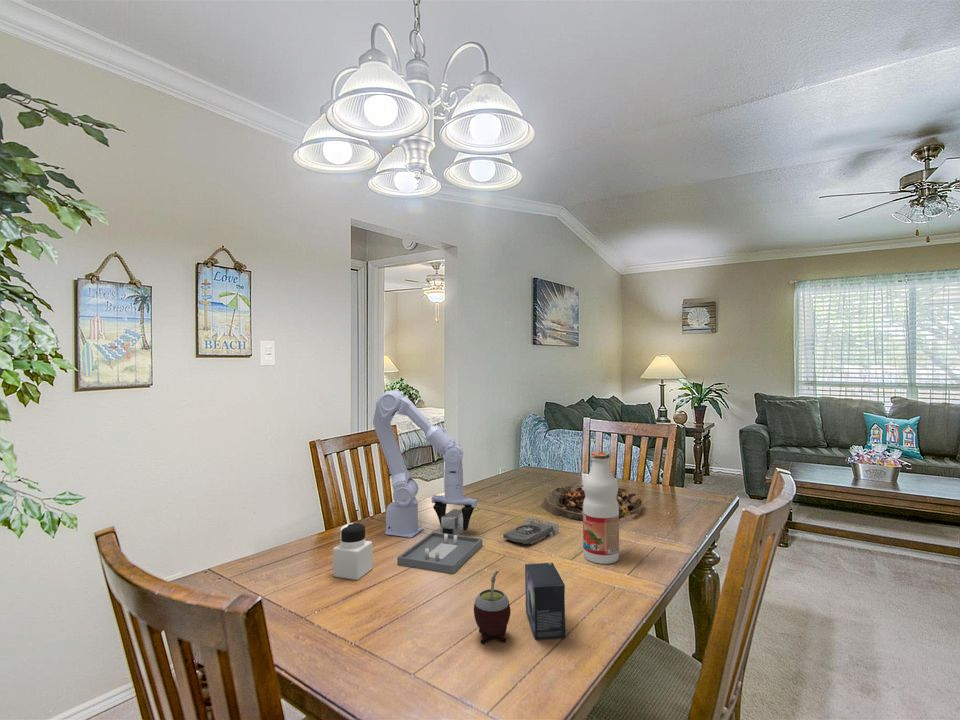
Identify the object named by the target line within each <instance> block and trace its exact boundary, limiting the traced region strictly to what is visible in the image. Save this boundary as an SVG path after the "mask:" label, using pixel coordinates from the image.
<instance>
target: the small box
mask: <svg viewBox="0 0 960 720" xmlns="http://www.w3.org/2000/svg"><path fill="white" fill-rule="evenodd" d="M524 576H525V577H524V580H525V581H524V583H525V614H526V616H527V619H528V622H529V625H530V629H531V632H532V635H533V636H534V637H533V638H534V640H536V641H539V640H554V639H555V640H556V639H566V637H567V633H566V632H567V631H566V608H565V607H566V603H565V602H566V601H565V600H566V599H565V597H566V596H565V590H566V586H565V583H564V581H563V579H562V577H561V576H560V574H559V572H558V570H557V567H556V566H555V565H554V563H553V562H542V563H540V562H538V563H525V564H524Z"/></svg>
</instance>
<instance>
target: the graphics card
mask: <svg viewBox="0 0 960 720" xmlns="http://www.w3.org/2000/svg"><path fill="white" fill-rule="evenodd" d="M524 518H525V521H526V522H525V523H524V524H522V525H519V526H517V527H515V528H513V529H511V530H508V531H507V532H504V533H503V535H502V536H503V540H504V539H506V540H509V541H511V542H515V543H520V544H523V545H530V546H531V545H533V544H535V543H536V542H538V541H540V540H543V539H547V538H548V539H551V538H553V537H555V536H557V535H558V534H559V522H557V523H556V522H554V521H549V520H546V519H545V520H544V519H541V518H540V519H539V518H535V517H532V516H527V517H526V516H525V517H524ZM549 537H550V538H549ZM548 539H547V540H548Z"/></svg>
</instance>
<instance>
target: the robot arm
mask: <svg viewBox="0 0 960 720" xmlns="http://www.w3.org/2000/svg"><path fill="white" fill-rule="evenodd" d="M396 414H397V415H402V416H406V417H408V419H410V420H411V421H412V422H413V423H414V424H415V425H416V426H417V427H418V428H419V429H420V430H422V432H423V433H424V434H425V440H426V442H427V443H429V444H430V445H431V447H433V448H434V450H436V452H437V453H439V455H442V460H443V461H444V469H443V470H444V474H443V475H444V495H432V496H431V503H432V504H434V505H433V506H432V507H433V510H434V511H435V513H436V516H437V519H438V521H439V524H440V525H439V526H440V527H441V517H442V516H444V515H445V514H447V505H453V506H454V505H455V506H463V507H462V508H461V510H462V515H463V530H464V531H467V530H468V529H469V526H470V525H469V524H470V521H471V520H470V519H471V516H472V514H473V512H474V510H475V508H476V507H477V506H478V499H475V498H470V497H466V496H464V468H463V466H464V465H463V457H464V451H463V449H464V448H462V446H461V445H460V444H459V443H457V441H456V440H455V439H454V440H453V438H451V437H450V436H449V435H448V434H447V433H446V429H445V428H444V427H440V426H439V425H433V424H432V423H431V422H430V421H429V420H428V418H426V416H425V415H424V414H423V413H422V412H421V411H420V409H418V407H417V406H416V405H415V404H414V402H412V401H411V400H410V399H409V397H407V396H406V395H404V394H403V393H402V392H401V391H400V390H397V389H393V390H389V391H386V392H384V393H382V394H381V395H380V396H379V398H378V399H377V401H376V402H375V409H374V415H373V419H372V425H373V427H374V430H375V434H376V436H377V438H378V441H379V445H380V447H381V450H382V453H383V455H384V459H385V462H386V464H387V467H388V469H389V470H388V471H389V473H390V476H391V486H392V489H393V493H392V499H393V502H390V503H388V505H387V506H386V511H385V532H384V535H388V536H395V537H396V536H397V537H404V538H409V539H410V538H413V537H414V536H416V535H418V534H419V533H421V532H422V531H423V530H424V527H419V506H418V505H419V504H418V503H419V501H418V499H417V498H416V496H417V494H418V492H419V484H418V483H417V482H416V481H415V480H414V479H413V477H412V475H411V473H410V471H409V470H408V468H407V466H406V463H405V460H404V457H403V455H402V451H401V449H400V446H399V444H398V441H397V437H396V435H395V432H394V429H393V426H392V424H391V423H392V420H393V418H394V417H395V415H396Z"/></svg>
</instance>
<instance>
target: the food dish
mask: <svg viewBox="0 0 960 720" xmlns="http://www.w3.org/2000/svg"><path fill="white" fill-rule="evenodd" d="M573 487H574V485H570V486H568V485H567V486H562V487H555V488H554V489H552V490H551V491H549V492H548V493H547V494H546V495H545V497H544V499H543V501H542V503H540V509H543V511H546V512H547V513H549V514H551V515H553V516H555V517H561V518H565V519H571V520H577V521H583V502H584V499H585V493H584V489H583V488H582V487H583V484H582V485H580V486H578V485H576V486H575V487H577V488H576V489H573V490H572V488H573ZM571 490H572V491H571ZM627 492H628V490H627V489H624V488H621V487H620V488H619V487H618V493H617V496H616V498H617V501H618V505H619V520H621V519H623V518H625V517H627V516H632V515H640V514H641V513H642V512H641V511H642V503H643V501H642V498H639V497H637V499H635V501H634V503H633V504H632V500H631V499H632V498H633V497H635V496H636V495H637V494H636V493H634V492H633V493H628V494H627V495H623V493H627Z"/></svg>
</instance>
